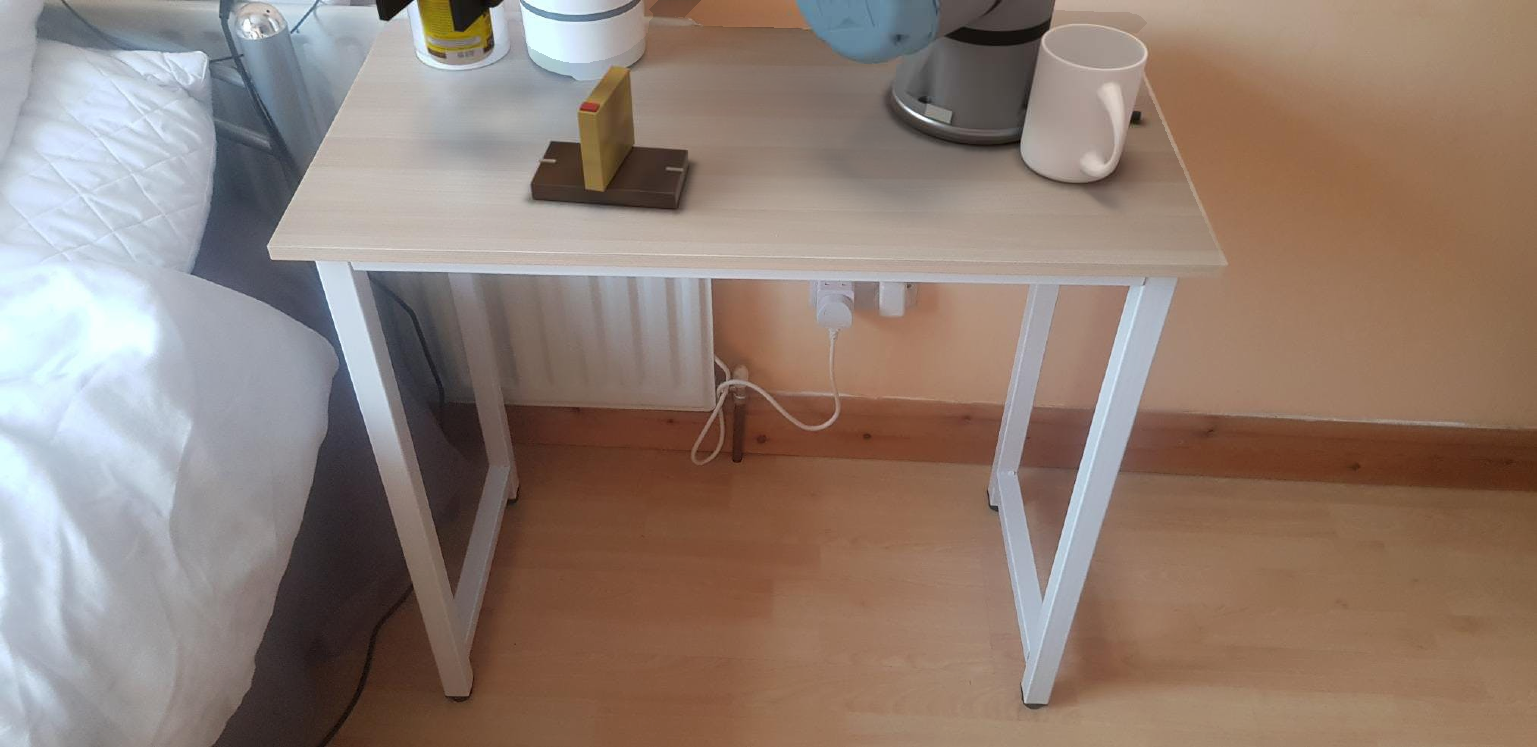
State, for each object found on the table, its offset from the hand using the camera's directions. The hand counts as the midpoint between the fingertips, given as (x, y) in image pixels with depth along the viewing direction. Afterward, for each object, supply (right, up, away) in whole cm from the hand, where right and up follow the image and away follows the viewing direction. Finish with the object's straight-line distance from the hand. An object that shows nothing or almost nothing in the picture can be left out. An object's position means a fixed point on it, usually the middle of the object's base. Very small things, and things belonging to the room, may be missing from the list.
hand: (418, 9), depth 82 cm
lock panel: (+13, -12, +9) cm, 20 cm away
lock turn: (+14, -10, +8) cm, 19 cm away
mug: (+53, -10, +12) cm, 56 cm away
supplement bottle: (+1, -1, +8) cm, 8 cm away
